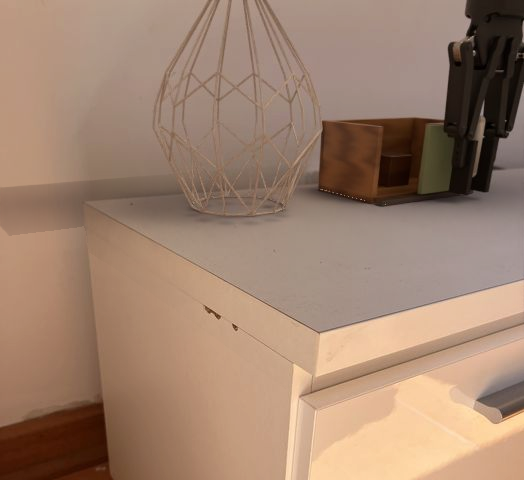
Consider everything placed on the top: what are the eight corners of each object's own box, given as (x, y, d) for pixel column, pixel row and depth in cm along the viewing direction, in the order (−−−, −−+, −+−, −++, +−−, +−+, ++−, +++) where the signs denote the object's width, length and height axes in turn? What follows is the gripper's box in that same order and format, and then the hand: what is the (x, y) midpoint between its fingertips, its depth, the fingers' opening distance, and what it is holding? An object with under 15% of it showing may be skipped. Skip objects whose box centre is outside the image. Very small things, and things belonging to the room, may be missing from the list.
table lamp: (195, 239, 55) (173, -362, 37) (115, 198, 72) (74, -229, 54) (369, 214, 66) (415, -259, 48) (264, 184, 83) (270, -175, 65)
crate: (473, 192, 79) (485, 123, 75) (381, 206, 70) (390, 127, 66) (406, 179, 88) (413, 116, 84) (317, 190, 79) (321, 120, 75)
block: (408, 184, 79) (412, 154, 77) (388, 187, 77) (391, 156, 75) (387, 180, 82) (390, 151, 80) (367, 182, 80) (370, 153, 78)
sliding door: (486, 193, 75) (500, 115, 71) (443, 199, 70) (456, 116, 66) (458, 187, 78) (471, 113, 74) (416, 193, 74) (427, 114, 70)
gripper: (518, -13, 70) (483, 182, 81) (429, -26, 62) (402, 193, 72) (577, -19, 65) (531, 191, 75) (488, -35, 57) (450, 203, 67)
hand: (468, 191), depth 74 cm, fingers open, 3 cm apart
